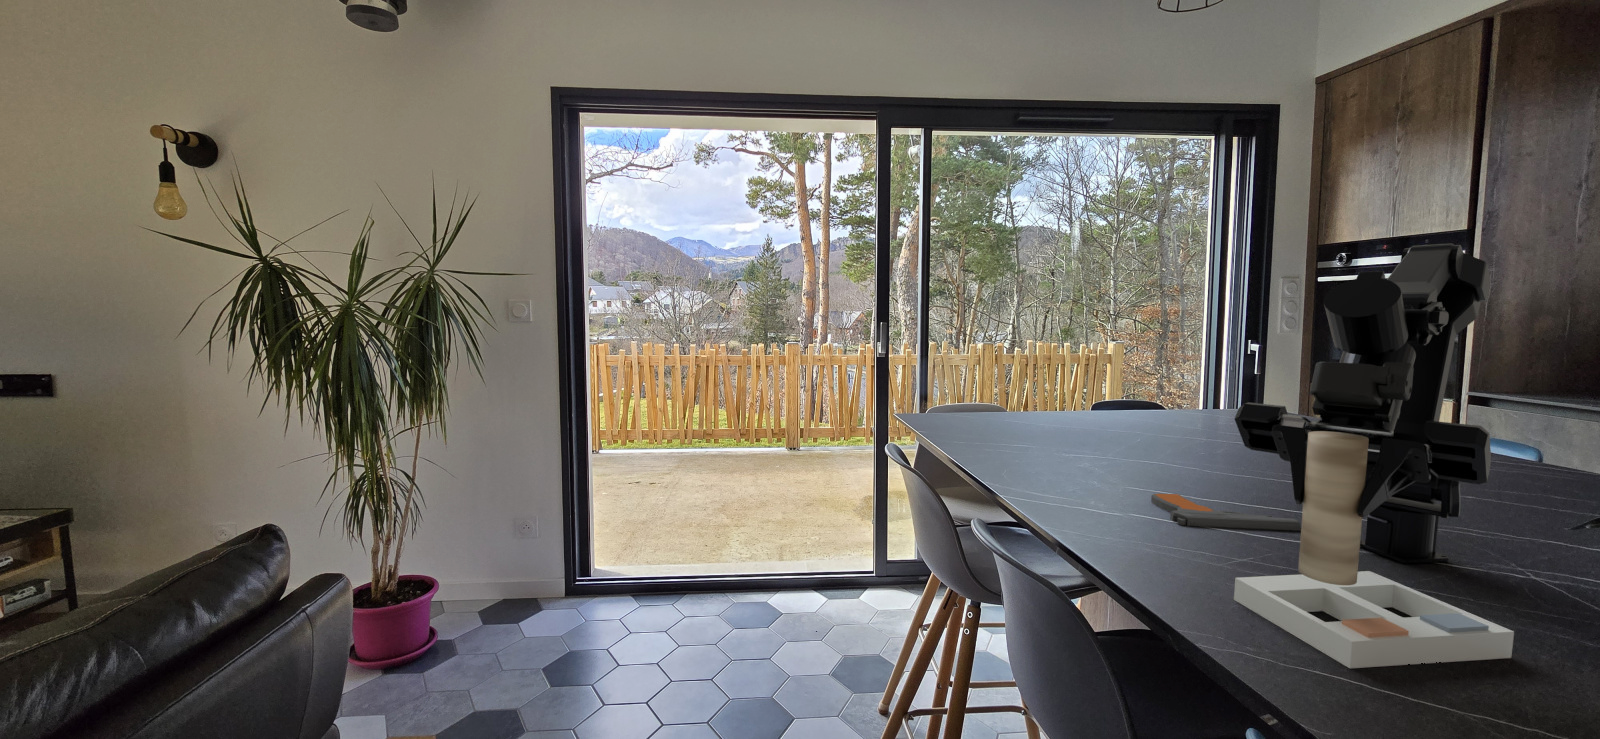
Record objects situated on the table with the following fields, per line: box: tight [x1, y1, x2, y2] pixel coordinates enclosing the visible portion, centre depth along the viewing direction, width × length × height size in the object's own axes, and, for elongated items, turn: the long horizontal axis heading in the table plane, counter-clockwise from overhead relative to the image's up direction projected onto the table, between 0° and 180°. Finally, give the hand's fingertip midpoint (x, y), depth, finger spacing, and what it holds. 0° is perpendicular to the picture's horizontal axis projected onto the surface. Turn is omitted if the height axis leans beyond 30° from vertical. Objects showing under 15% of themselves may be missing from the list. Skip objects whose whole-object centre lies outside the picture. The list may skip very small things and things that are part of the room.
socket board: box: [1233, 570, 1515, 669], centre depth 62 cm, size 16×13×3 cm
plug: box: [1297, 431, 1369, 585], centre depth 60 cm, size 4×4×14 cm
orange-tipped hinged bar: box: [1150, 493, 1302, 532], centre depth 95 cm, size 2×16×12 cm
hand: (1328, 508), depth 59 cm, fingers closed on plug, 4 cm apart
